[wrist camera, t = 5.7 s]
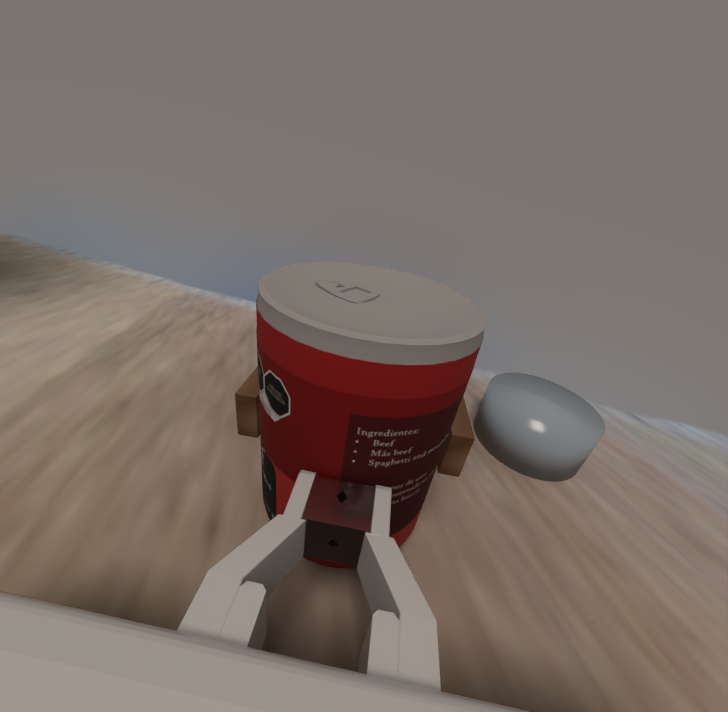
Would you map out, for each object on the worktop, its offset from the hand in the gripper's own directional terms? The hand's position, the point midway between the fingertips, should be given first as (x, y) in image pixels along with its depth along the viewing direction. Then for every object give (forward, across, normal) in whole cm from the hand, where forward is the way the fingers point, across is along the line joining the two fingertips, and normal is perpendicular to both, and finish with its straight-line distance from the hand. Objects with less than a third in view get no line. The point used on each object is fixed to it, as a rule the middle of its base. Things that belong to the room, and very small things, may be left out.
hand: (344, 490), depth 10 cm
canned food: (+4, 0, -6) cm, 7 cm away
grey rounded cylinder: (+11, +12, -6) cm, 17 cm away
